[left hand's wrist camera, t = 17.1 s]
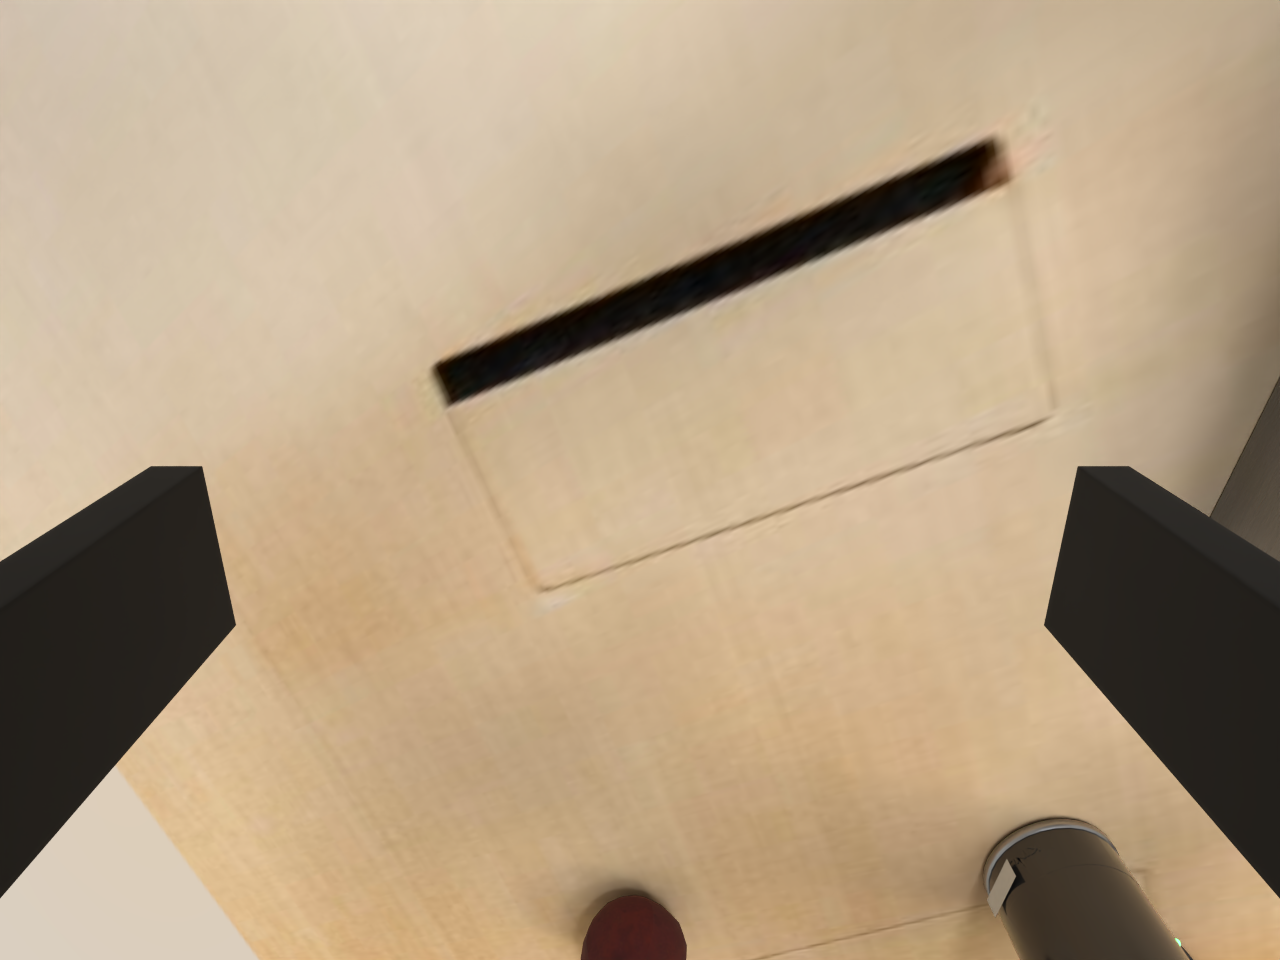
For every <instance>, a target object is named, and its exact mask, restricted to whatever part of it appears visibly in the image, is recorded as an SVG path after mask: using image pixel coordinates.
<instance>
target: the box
mask: <svg viewBox="0 0 1280 960" xmlns="http://www.w3.org/2000/svg"><path fill="white" fill-rule="evenodd" d="M1210 518H1211V519H1213V520H1215V521H1216V522H1218V523H1219V524H1221V525H1222V526H1224V527H1226V528H1227V529H1229V530H1230V531H1232V532H1233V533H1235V534H1237V535H1238V536H1240V537H1241V538H1243V539H1245V540H1246V541H1248V542H1249V543H1251V544H1252V545H1254V546H1256V547H1257V548H1259V549H1260V550H1262V551H1264V552H1265V553H1267V554H1268V555H1270V556H1271V557H1273V558H1275V559H1276V560H1278V561H1279V562H1280V379H1279V381H1278V383H1277V385H1276V387H1275V389H1274V391H1273V393H1272V395H1271V397H1270V399H1269V401H1268V403H1267V405H1266V407H1265V409H1264V411H1263V413H1262V415H1261V417H1260V419H1259V421H1258V423H1257V425H1256V427H1255V429H1254V431H1253V433H1252V435H1251V437H1250V439H1249V441H1248V443H1247V445H1246V447H1245V449H1244V451H1243V453H1242V455H1241V457H1240V459H1239V461H1238V463H1237V465H1236V467H1235V469H1234V471H1233V473H1232V475H1231V477H1230V479H1229V481H1228V483H1227V485H1226V487H1225V489H1224V491H1223V493H1222V495H1221V497H1220V499H1219V501H1218V503H1217V505H1216V507H1215V509H1214V511H1213V513H1212V515H1211V517H1210Z"/></svg>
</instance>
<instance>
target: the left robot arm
mask: <svg viewBox="0 0 1280 960" xmlns="http://www.w3.org/2000/svg"><path fill="white" fill-rule="evenodd" d="M235 626H236V623H235V618H234V614H233V609H232V604H231V600H230V595H229V590H228V586H227V581H226V576H225V571H224V567H223V562H222V557H221V553H220V548H219V543H218V539H217V534H216V529H215V525H214V520H213V515H212V510H211V506H210V501H209V496H208V492H207V487H206V482H205V478H204V473H203V468H202V466H151V467H149V468H148V469H146V470H144V471H143V472H141V473H140V474H138V475H137V476H135V477H133V478H132V479H130V480H129V481H127V482H126V483H124V484H122V485H121V486H119V487H118V488H116V489H114V490H113V491H111V492H110V493H108V494H107V495H105V496H103V497H102V498H100V499H99V500H97V501H95V502H94V503H92V504H91V505H89V506H88V507H86V508H84V509H83V510H81V511H80V512H78V513H77V514H75V515H73V516H72V517H70V518H69V519H67V520H65V521H64V522H62V523H61V524H59V525H58V526H56V527H54V528H53V529H51V530H50V531H48V532H47V533H45V534H43V535H42V536H40V537H39V538H37V539H35V540H34V541H32V542H31V543H29V544H28V545H26V546H24V547H23V548H21V549H20V550H18V551H16V552H15V553H13V554H12V555H10V556H9V557H7V558H5V559H4V560H2V561H1V562H0V898H1V897H2V896H3V894H4V893H5V892H6V891H7V890H8V889H9V888H10V886H11V885H12V884H13V883H14V882H15V881H16V879H17V878H18V877H19V876H20V875H21V874H22V872H23V871H24V870H25V869H26V868H27V867H28V866H29V864H30V863H31V862H32V861H33V860H34V859H35V857H36V856H37V855H38V854H39V853H40V852H41V850H42V849H43V848H44V847H45V846H46V845H47V843H48V842H49V841H50V840H51V839H52V838H53V837H54V835H55V834H56V833H57V832H58V831H59V830H60V828H61V827H62V826H63V825H64V824H65V823H66V821H67V820H68V819H69V818H70V817H71V816H72V815H73V813H74V812H75V811H76V810H77V809H78V808H79V806H80V805H81V804H82V803H83V802H84V801H85V799H86V798H87V797H88V796H89V795H90V794H91V793H92V791H93V790H94V789H95V788H96V787H97V786H98V784H99V783H100V782H101V781H102V780H103V779H104V777H105V776H106V775H107V774H108V773H109V772H110V770H111V769H112V768H113V767H114V766H115V765H116V764H117V762H118V761H119V760H120V759H121V758H122V757H123V755H124V754H125V753H126V752H127V751H128V750H129V748H130V747H131V746H132V745H133V744H134V743H135V742H136V740H137V739H138V738H139V737H140V736H141V735H142V733H143V732H144V731H145V730H146V729H147V728H148V726H149V725H150V724H151V723H152V722H153V721H154V720H155V718H156V717H157V716H158V715H159V714H160V713H161V711H162V710H163V709H164V708H165V707H166V706H167V704H168V703H169V702H170V701H171V700H172V699H173V697H174V696H175V695H176V694H177V693H178V692H179V691H180V689H181V688H182V687H183V686H184V685H185V684H186V682H187V681H188V680H189V679H190V678H191V677H192V675H193V674H194V673H195V672H196V671H197V670H198V669H199V667H200V666H201V665H202V664H203V663H204V662H205V660H206V659H207V658H208V657H209V656H210V655H211V653H212V652H213V651H214V650H215V649H216V648H217V647H218V645H219V644H220V643H221V642H222V641H223V640H224V638H225V637H226V636H227V635H228V634H229V633H230V631H231V630H232V629H233V628H234V627H235ZM1044 626H1045V627H1046V628H1047V629H1048V630H1049V631H1050V633H1051V634H1052V635H1053V636H1054V637H1055V638H1056V640H1057V641H1058V642H1059V643H1060V644H1061V645H1062V647H1063V648H1064V649H1065V650H1066V651H1067V652H1068V653H1069V655H1070V656H1071V657H1072V658H1073V659H1074V660H1075V662H1076V663H1077V664H1078V665H1079V666H1080V667H1081V669H1082V670H1083V671H1084V672H1085V673H1086V674H1087V675H1088V677H1089V678H1090V679H1091V680H1092V681H1093V682H1094V684H1095V685H1096V686H1097V687H1098V688H1099V689H1100V691H1101V692H1102V693H1103V694H1104V695H1105V696H1106V697H1107V699H1108V700H1109V701H1110V702H1111V703H1112V704H1113V706H1114V707H1115V708H1116V709H1117V710H1118V711H1119V713H1120V714H1121V715H1122V716H1123V717H1124V718H1125V720H1126V721H1127V722H1128V723H1129V724H1130V725H1131V726H1132V728H1133V729H1134V730H1135V731H1136V732H1137V733H1138V735H1139V736H1140V737H1141V738H1142V739H1143V740H1144V742H1145V743H1146V744H1147V745H1148V746H1149V747H1150V748H1151V750H1152V751H1153V752H1154V753H1155V754H1156V755H1157V757H1158V758H1159V759H1160V760H1161V761H1162V762H1163V764H1164V765H1165V766H1166V767H1167V768H1168V769H1169V770H1170V772H1171V773H1172V774H1173V775H1174V776H1175V777H1176V779H1177V780H1178V781H1179V782H1180V783H1181V784H1182V786H1183V787H1184V788H1185V789H1186V790H1187V791H1188V793H1189V794H1190V795H1191V796H1192V797H1193V798H1194V799H1195V801H1196V802H1197V803H1198V804H1199V805H1200V806H1201V808H1202V809H1203V810H1204V811H1205V812H1206V813H1207V815H1208V816H1209V817H1210V818H1211V819H1212V820H1213V821H1214V823H1215V824H1216V825H1217V826H1218V827H1219V828H1220V830H1221V831H1222V832H1223V833H1224V834H1225V835H1226V837H1227V838H1228V839H1229V840H1230V841H1231V842H1232V843H1233V845H1234V846H1235V847H1236V848H1237V849H1238V850H1239V852H1240V853H1241V854H1242V855H1243V856H1244V857H1245V859H1246V860H1247V861H1248V862H1249V863H1250V864H1251V866H1252V867H1253V868H1254V869H1255V870H1256V871H1257V872H1258V874H1259V875H1260V876H1261V877H1262V878H1263V879H1264V881H1265V882H1266V883H1267V884H1268V885H1269V886H1270V888H1271V889H1272V890H1273V891H1274V892H1275V893H1276V894H1277V896H1278V897H1279V898H1280V562H1279V561H1278V560H1276V559H1275V558H1273V557H1271V556H1270V555H1268V554H1267V553H1265V552H1264V551H1262V550H1260V549H1259V548H1257V547H1256V546H1254V545H1252V544H1251V543H1249V542H1248V541H1246V540H1245V539H1243V538H1241V537H1240V536H1238V535H1237V534H1235V533H1233V532H1232V531H1230V530H1229V529H1227V528H1226V527H1224V526H1222V525H1221V524H1219V523H1218V522H1216V521H1215V520H1213V519H1211V518H1210V517H1208V516H1207V515H1205V514H1203V513H1202V512H1200V511H1199V510H1197V509H1196V508H1194V507H1192V506H1191V505H1189V504H1188V503H1186V502H1185V501H1183V500H1181V499H1180V498H1178V497H1177V496H1175V495H1173V494H1172V493H1170V492H1169V491H1167V490H1166V489H1164V488H1162V487H1161V486H1159V485H1158V484H1156V483H1154V482H1153V481H1151V480H1150V479H1148V478H1147V477H1145V476H1143V475H1142V474H1140V473H1139V472H1137V471H1136V470H1134V469H1132V468H1131V467H1129V466H1078V468H1077V473H1076V478H1075V482H1074V487H1073V492H1072V496H1071V501H1070V506H1069V510H1068V515H1067V520H1066V525H1065V529H1064V534H1063V539H1062V543H1061V548H1060V553H1059V557H1058V562H1057V567H1056V571H1055V576H1054V581H1053V586H1052V590H1051V595H1050V600H1049V604H1048V609H1047V614H1046V618H1045V623H1044Z"/></svg>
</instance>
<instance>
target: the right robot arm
mask: <svg viewBox="0 0 1280 960" xmlns="http://www.w3.org/2000/svg"><path fill="white" fill-rule="evenodd" d="M983 882H984V887H985V890H986V892H987V894H988V898H987V901H988V904H989V906H990V908H991V910H992V912H993V914H994V916H995V917H996V915H997V913H998V914H999V916H1000V918H1001V920H1002V922H1003V925H1004V927H1005V929H1006V931H1007V933H1008V935H1009V938H1010V940H1011V942H1012V944H1013V946H1014V948H1015V950H1016V953H1017V955H1018V957H1019V959H1020V960H1193V959H1192V958H1191V957H1190V955H1189V954H1188V953H1187V952H1186V951H1185V949H1184V948H1183V947H1182V946H1181V944H1180V941H1179V940H1178V939H1175V938H1174V936H1173V935H1172V933H1171V932H1170V930H1169V929H1168V927H1167V926H1166V924H1165V923H1164V921H1163V920H1162V919H1161V917H1160V916H1159V914H1158V913H1157V911H1156V910H1155V908H1154V907H1153V905H1152V904H1151V903H1150V901H1149V900H1148V898H1147V897H1146V895H1145V894H1144V892H1143V891H1142V889H1141V888H1140V886H1139V884H1138V883H1137V882H1136V880H1135V879H1134V877H1133V876H1132V874H1131V873H1130V871H1129V870H1128V868H1127V867H1126V865H1125V864H1124V863H1123V861H1122V860H1121V858H1120V857H1119V854H1118V852H1117V850H1116V848H1115V847H1114V845H1113V844H1112V842H1111V841H1110V840H1109V838H1108V837H1107V836H1106V835H1105V834H1104V833H1103V832H1102V831H1101V830H1099V829H1098V828H1096V827H1094V826H1092V825H1090V824H1087V823H1085V822H1081V821H1077V820H1070V819H1053V820H1046V821H1041V822H1037V823H1033V824H1030V825H1028V826H1025V827H1023V828H1021V829H1019V830H1017V831H1015V832H1013V833H1012V834H1010V835H1009V836H1007V837H1006V838H1005V839H1004V840H1002V841H1001V842H1000V843H999V844H998V845H997V846H996V847H995V849H994V850H993V851H992V853H991V854H990V856H989V857H988V859H987V861H986V864H985V867H984V872H983Z"/></svg>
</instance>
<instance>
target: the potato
mask: <svg viewBox="0 0 1280 960" xmlns="http://www.w3.org/2000/svg"><path fill="white" fill-rule="evenodd" d="M686 951H687V945H686V942H685V938H684V935H683V932H682V929H681V927H680V924H679V922H678V921H677V920H676V919H675V918H674V917H673V916H672V915H671V914H670V913H669V912H668V911H667V910H666V909H665V908H664V907H663V906H661V905H660V904H658V903H656V902H654V901H652V900H650V899H648V898H646V897H642V896H637V895H632V896H623V897H620V898H617V899H615V900H613V901H611V902H609V903H607V904H606V905H605V906H604V907H603V908H602V909H601V910H600V911H599V913H598V914H597V915H596V916H595V917H594V919H593V921H592V923H591V925H590V927H589V929H588V932H587V934H586V937H585V939H584V942H583V948H582V954H581V960H686Z"/></svg>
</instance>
